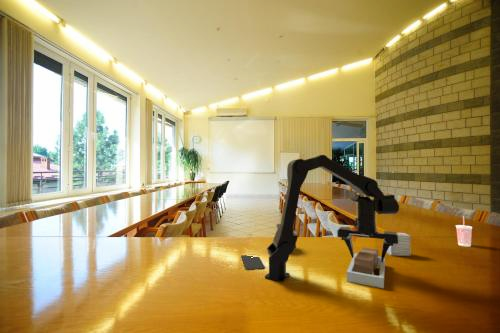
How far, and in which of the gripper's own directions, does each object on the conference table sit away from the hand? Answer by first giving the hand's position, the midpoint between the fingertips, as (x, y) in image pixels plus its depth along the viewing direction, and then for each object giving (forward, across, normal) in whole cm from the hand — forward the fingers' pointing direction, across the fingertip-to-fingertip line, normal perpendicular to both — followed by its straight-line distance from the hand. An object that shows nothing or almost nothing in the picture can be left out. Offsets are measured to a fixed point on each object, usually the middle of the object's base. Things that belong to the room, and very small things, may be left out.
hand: (367, 259), depth 87 cm
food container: (+5, +36, -14) cm, 39 cm away
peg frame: (+4, 0, 0) cm, 4 cm away
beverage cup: (+5, -38, -59) cm, 70 cm away
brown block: (+2, 0, 0) cm, 3 cm away
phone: (+5, +40, +10) cm, 41 cm away
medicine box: (+5, -10, -28) cm, 30 cm away
